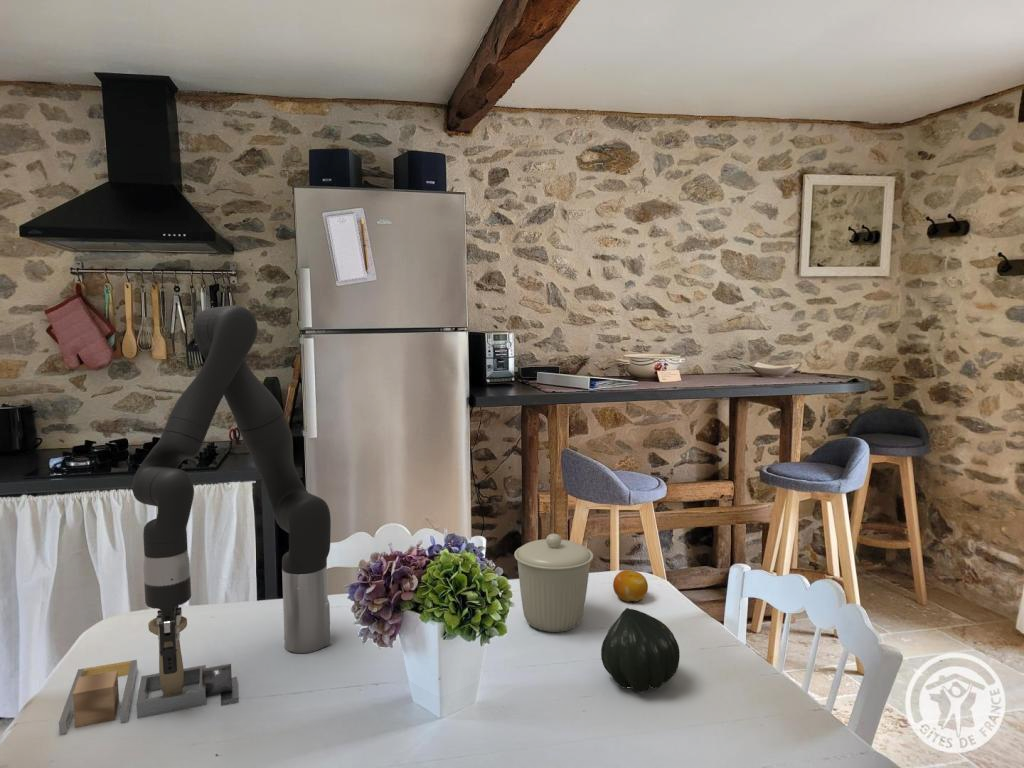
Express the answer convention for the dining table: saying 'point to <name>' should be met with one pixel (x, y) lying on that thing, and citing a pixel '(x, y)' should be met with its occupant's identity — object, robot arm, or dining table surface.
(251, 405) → the robot arm
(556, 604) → the canister
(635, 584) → the fruit
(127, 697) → the bay
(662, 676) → the squash
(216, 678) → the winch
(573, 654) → the dining table surface
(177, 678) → the handle
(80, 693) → the tan cardboard box
